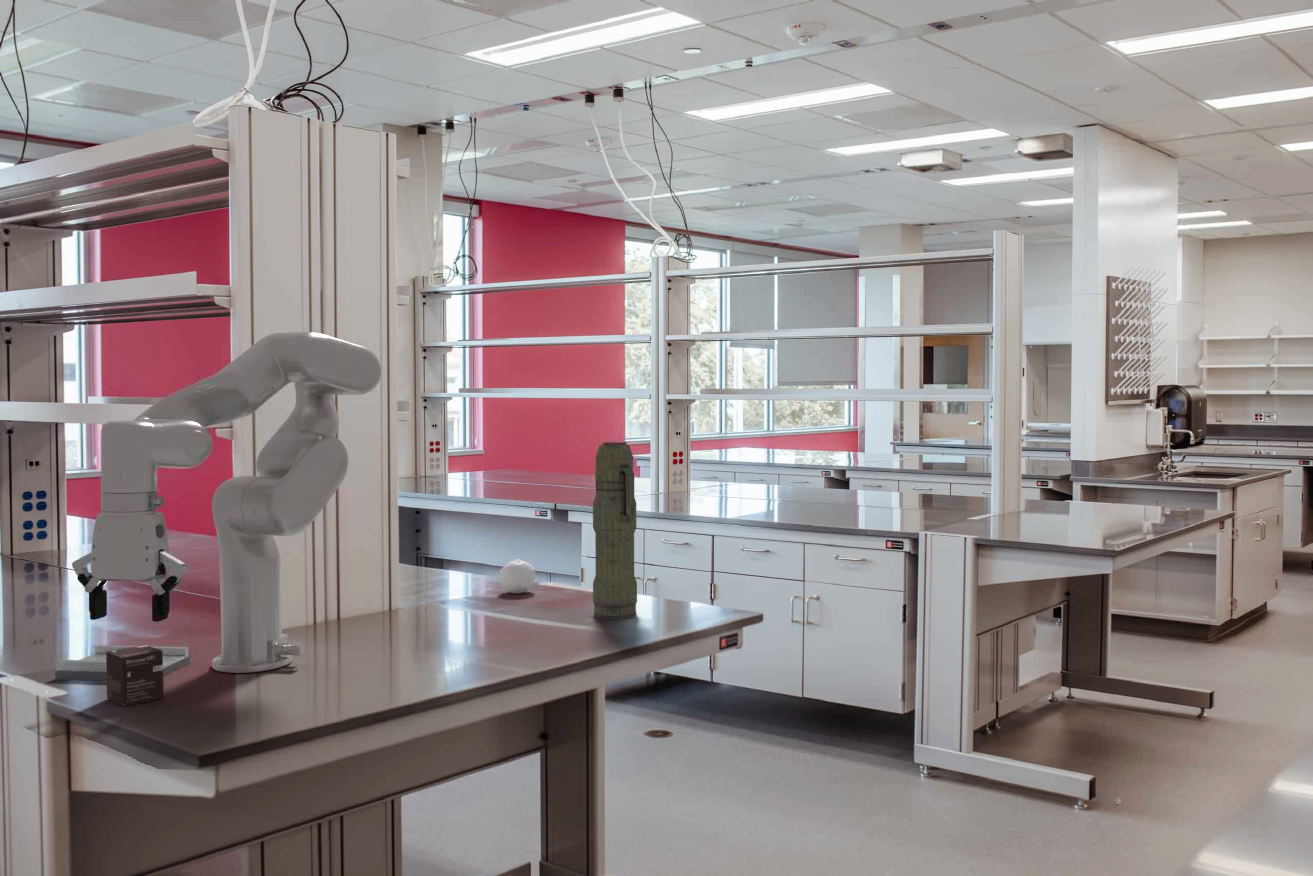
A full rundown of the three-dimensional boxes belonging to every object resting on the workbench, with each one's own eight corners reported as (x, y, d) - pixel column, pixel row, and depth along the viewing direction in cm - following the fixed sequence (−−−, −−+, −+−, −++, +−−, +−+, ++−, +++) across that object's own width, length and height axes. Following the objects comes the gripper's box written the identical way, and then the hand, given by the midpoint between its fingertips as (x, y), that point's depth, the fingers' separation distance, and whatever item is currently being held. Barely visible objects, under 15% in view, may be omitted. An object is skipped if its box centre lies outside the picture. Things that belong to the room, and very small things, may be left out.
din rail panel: (190, 662, 186) (189, 646, 186) (150, 682, 174) (149, 664, 174) (100, 660, 187) (100, 644, 187) (55, 679, 176) (54, 662, 175)
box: (123, 707, 160) (121, 657, 160) (106, 699, 164) (104, 651, 164) (164, 698, 165) (163, 650, 165) (147, 691, 169) (146, 643, 169)
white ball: (532, 589, 252) (532, 555, 251) (538, 595, 245) (538, 560, 244) (497, 591, 250) (497, 557, 249) (502, 597, 242) (501, 562, 242)
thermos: (612, 607, 231) (612, 440, 229) (650, 616, 222) (650, 443, 221) (579, 613, 225) (578, 442, 223) (617, 622, 216) (616, 444, 215)
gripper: (197, 503, 166) (197, 616, 166) (89, 501, 168) (89, 613, 168) (170, 507, 158) (170, 625, 159) (58, 505, 160) (58, 622, 161)
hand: (129, 619), depth 163 cm, fingers open, 9 cm apart
